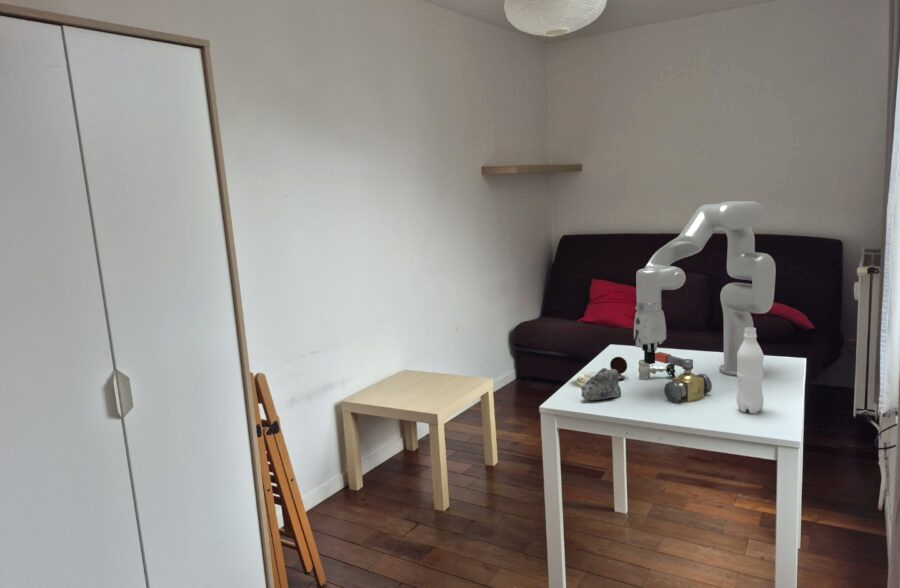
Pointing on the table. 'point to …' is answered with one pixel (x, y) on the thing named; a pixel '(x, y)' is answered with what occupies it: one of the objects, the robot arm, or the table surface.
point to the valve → (653, 370)
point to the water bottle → (750, 373)
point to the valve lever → (674, 360)
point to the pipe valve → (687, 387)
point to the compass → (619, 366)
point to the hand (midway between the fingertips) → (649, 362)
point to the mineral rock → (602, 385)
